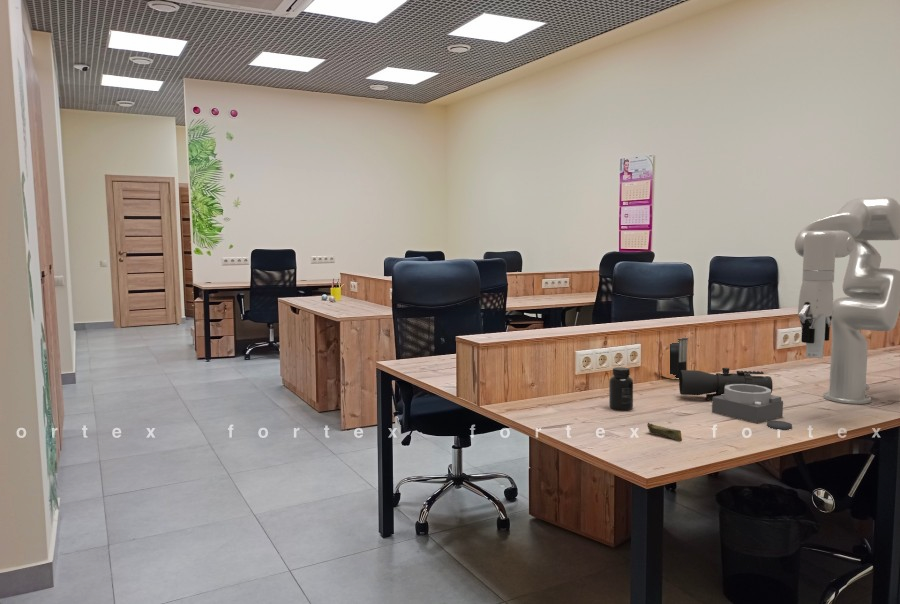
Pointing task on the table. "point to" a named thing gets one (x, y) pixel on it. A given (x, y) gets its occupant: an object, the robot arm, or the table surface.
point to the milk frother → (678, 357)
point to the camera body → (748, 403)
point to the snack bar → (665, 431)
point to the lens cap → (779, 425)
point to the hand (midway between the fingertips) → (815, 340)
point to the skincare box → (817, 339)
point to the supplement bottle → (621, 390)
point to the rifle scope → (717, 381)
